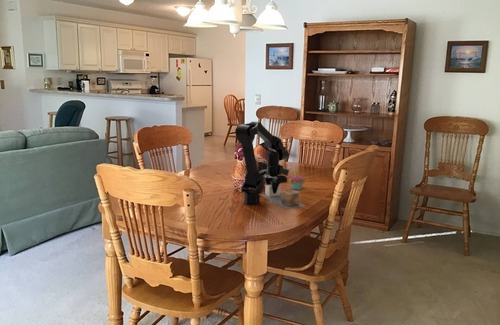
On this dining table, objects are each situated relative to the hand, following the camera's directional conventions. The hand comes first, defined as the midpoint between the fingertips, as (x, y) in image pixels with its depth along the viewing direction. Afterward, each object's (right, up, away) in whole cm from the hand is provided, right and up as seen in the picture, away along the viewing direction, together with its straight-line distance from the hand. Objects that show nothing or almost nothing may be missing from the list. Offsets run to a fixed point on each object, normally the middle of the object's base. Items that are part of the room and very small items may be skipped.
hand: (272, 192), depth 214 cm
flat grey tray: (+5, -4, -8) cm, 10 cm away
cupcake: (+14, +1, +16) cm, 22 cm away
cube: (+8, -5, -15) cm, 17 cm away
